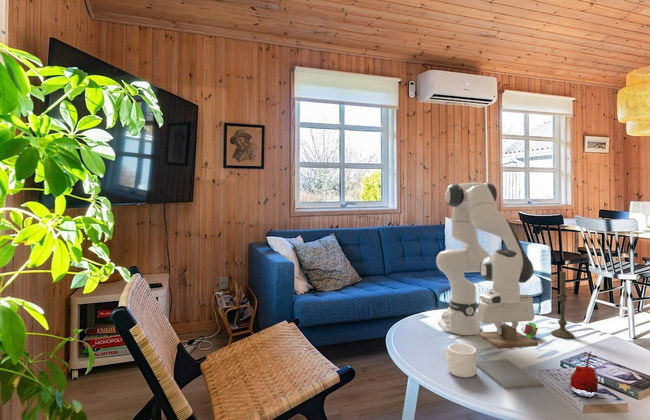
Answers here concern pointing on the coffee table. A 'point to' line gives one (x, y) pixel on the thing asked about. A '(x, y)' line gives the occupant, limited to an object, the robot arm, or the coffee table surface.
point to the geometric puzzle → (529, 330)
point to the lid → (507, 338)
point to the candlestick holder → (562, 310)
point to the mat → (508, 374)
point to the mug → (461, 360)
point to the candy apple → (585, 378)
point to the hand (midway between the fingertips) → (506, 333)
